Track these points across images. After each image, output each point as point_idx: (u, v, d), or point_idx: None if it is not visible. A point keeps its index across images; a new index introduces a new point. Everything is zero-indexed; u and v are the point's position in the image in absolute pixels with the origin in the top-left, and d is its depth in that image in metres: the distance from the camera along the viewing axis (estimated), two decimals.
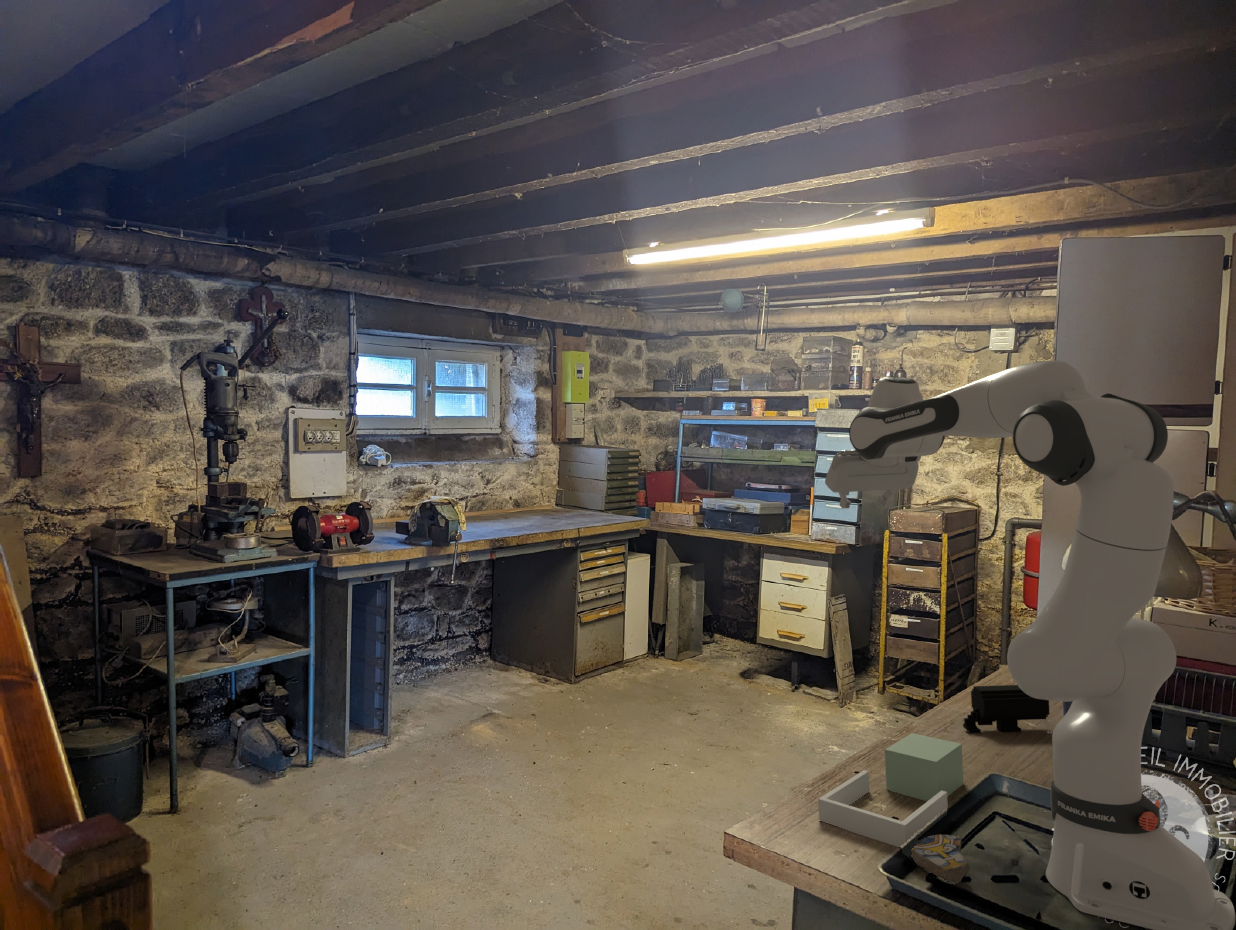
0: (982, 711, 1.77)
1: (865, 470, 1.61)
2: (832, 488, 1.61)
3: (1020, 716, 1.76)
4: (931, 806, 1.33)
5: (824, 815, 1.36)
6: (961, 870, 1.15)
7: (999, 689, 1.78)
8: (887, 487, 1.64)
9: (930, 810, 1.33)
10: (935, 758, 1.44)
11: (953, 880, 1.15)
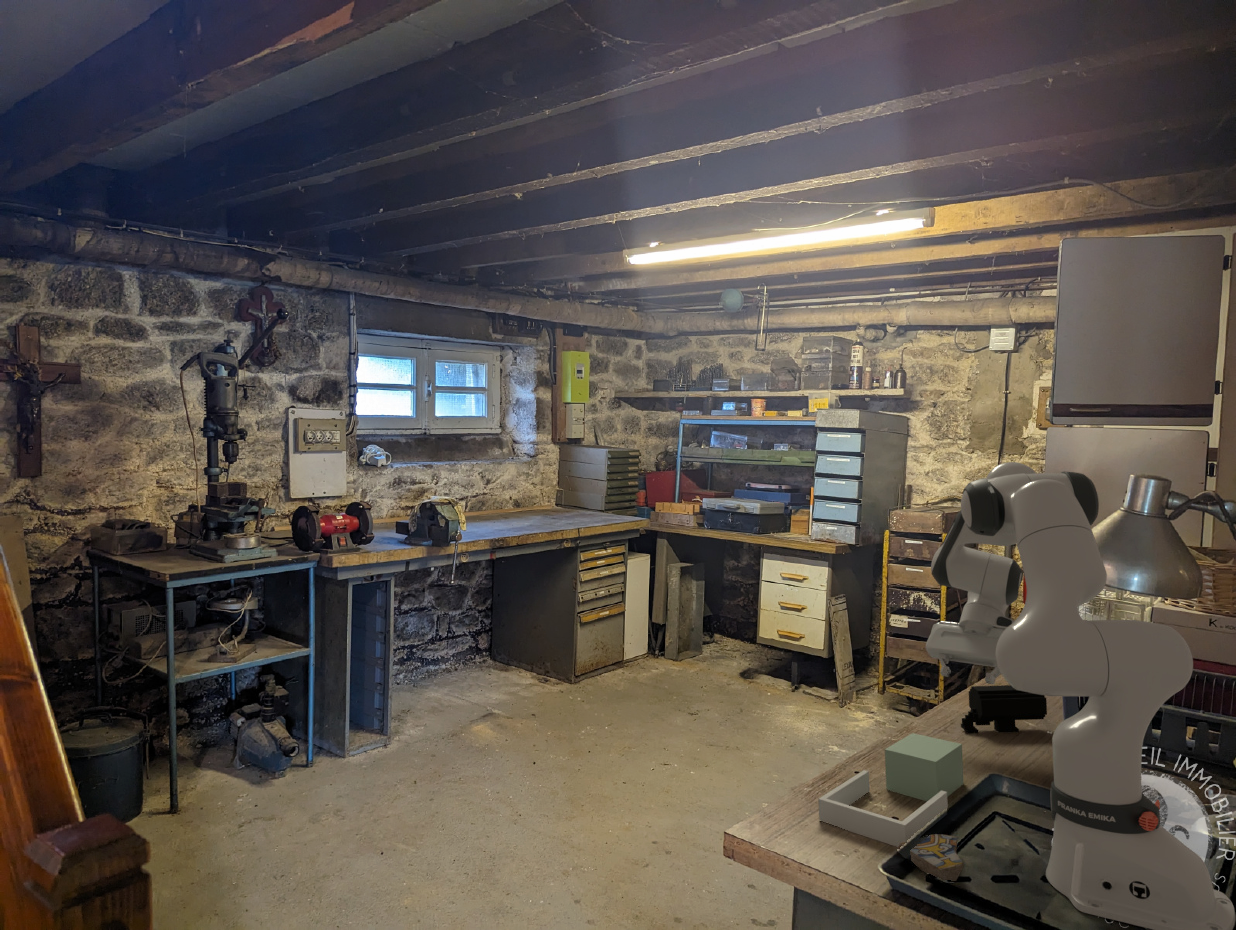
0: (979, 711, 1.77)
1: (961, 635, 1.73)
2: (925, 646, 1.76)
3: (1018, 716, 1.76)
4: (931, 806, 1.33)
5: (824, 815, 1.36)
6: (956, 870, 1.16)
7: (997, 689, 1.78)
8: (985, 655, 1.66)
9: (930, 810, 1.33)
10: (935, 758, 1.44)
11: None
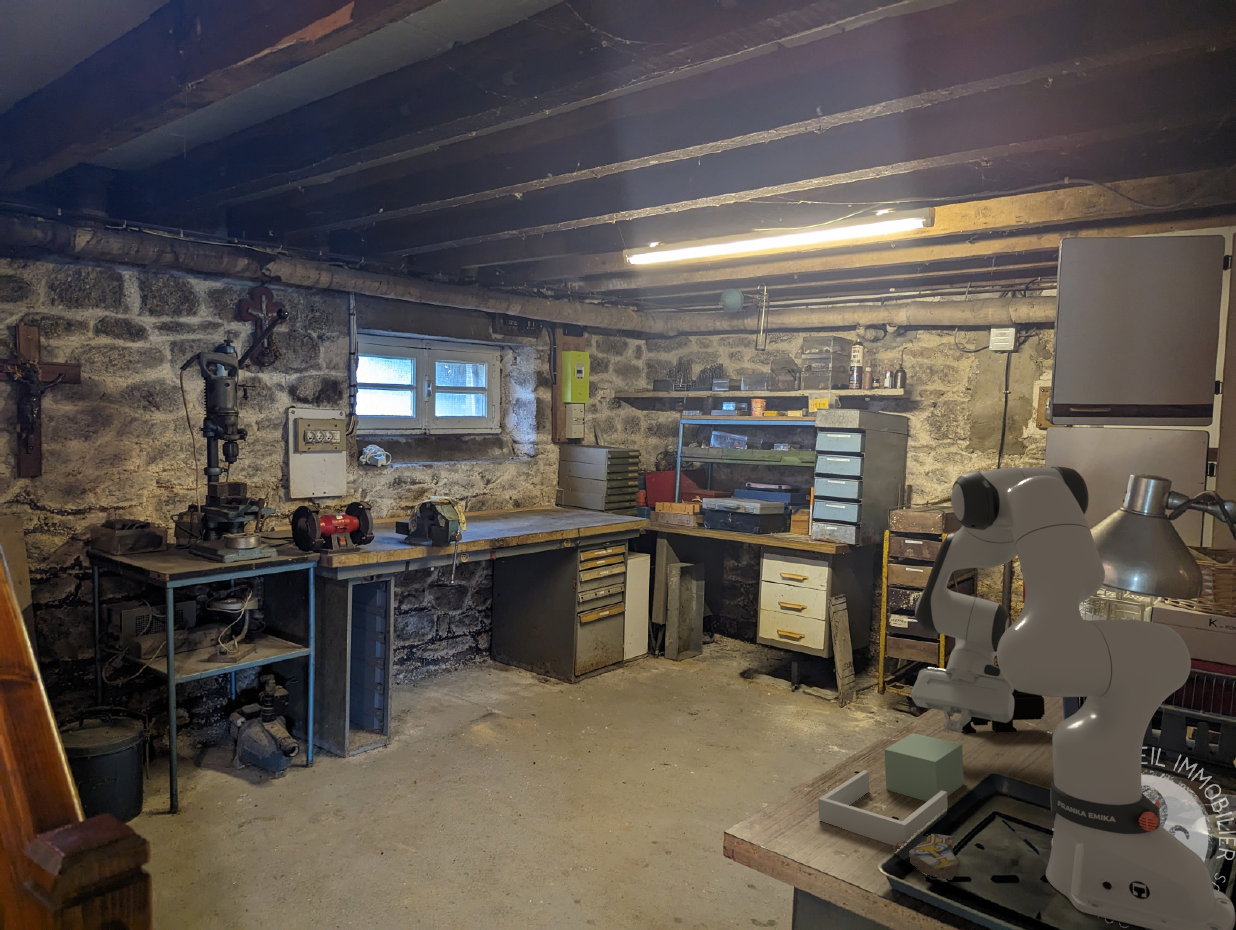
0: None
1: (947, 683, 1.66)
2: (911, 694, 1.69)
3: (1015, 716, 1.76)
4: (931, 806, 1.33)
5: (824, 815, 1.36)
6: (952, 869, 1.16)
7: None
8: (972, 705, 1.59)
9: (930, 810, 1.33)
10: (934, 758, 1.44)
11: None
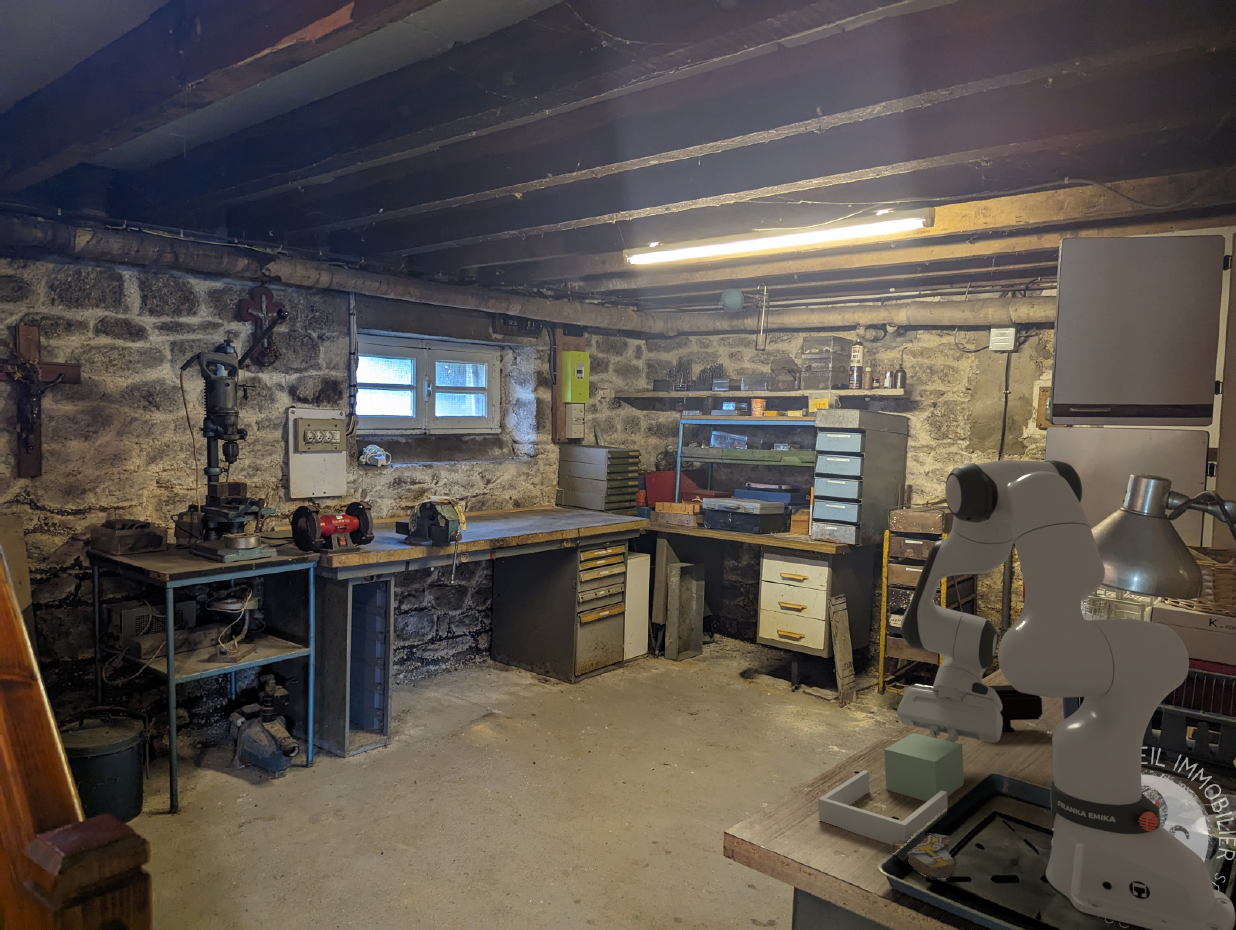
0: None
1: (934, 701, 1.61)
2: (897, 711, 1.64)
3: (1013, 716, 1.76)
4: (931, 806, 1.33)
5: (824, 815, 1.36)
6: (948, 868, 1.16)
7: None
8: (959, 725, 1.54)
9: (930, 810, 1.33)
10: (934, 758, 1.44)
11: None
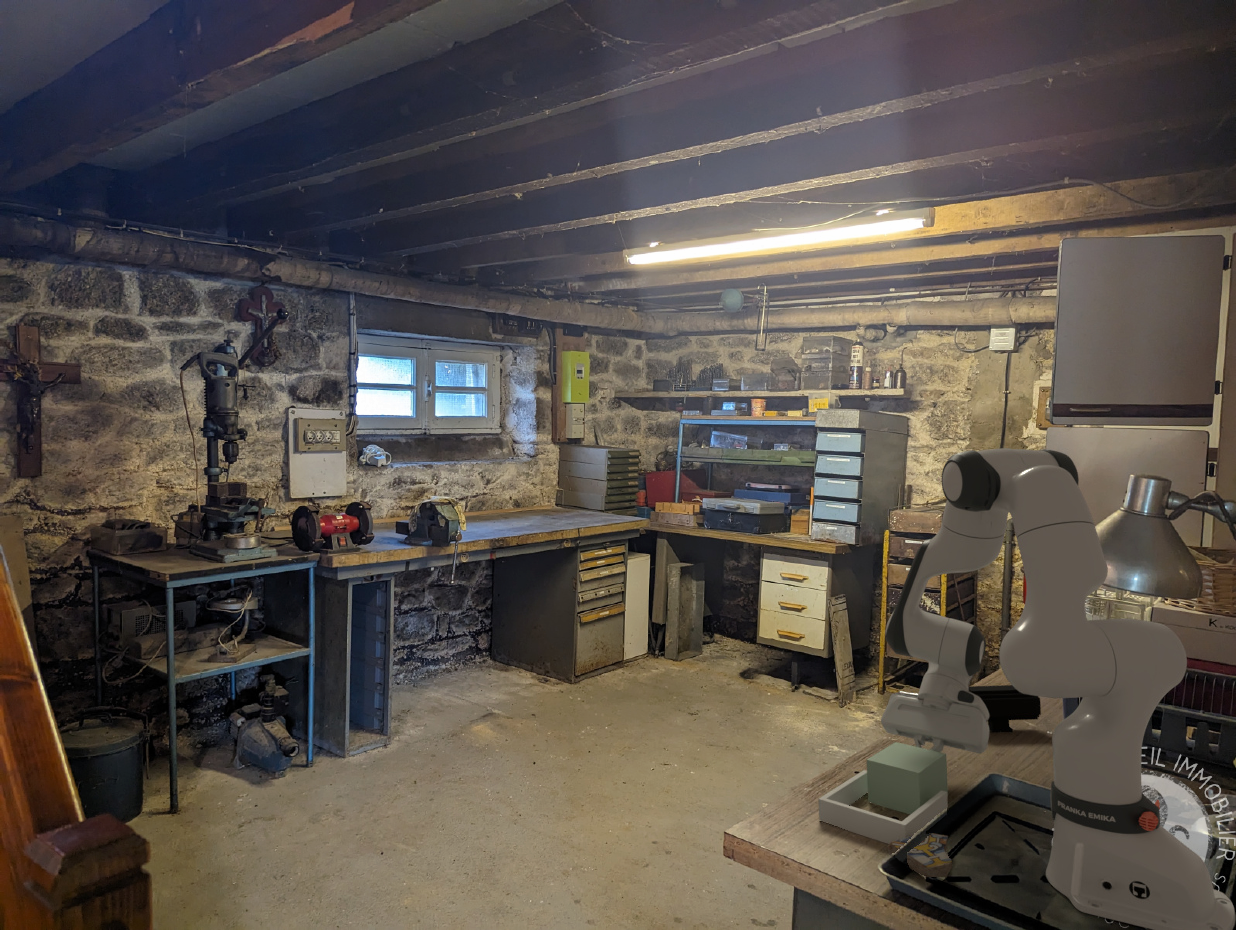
0: None
1: (919, 709, 1.56)
2: (881, 720, 1.59)
3: (1011, 716, 1.76)
4: (931, 806, 1.33)
5: (824, 815, 1.36)
6: (945, 868, 1.16)
7: (991, 689, 1.78)
8: (944, 734, 1.49)
9: (930, 810, 1.33)
10: (918, 769, 1.39)
11: None
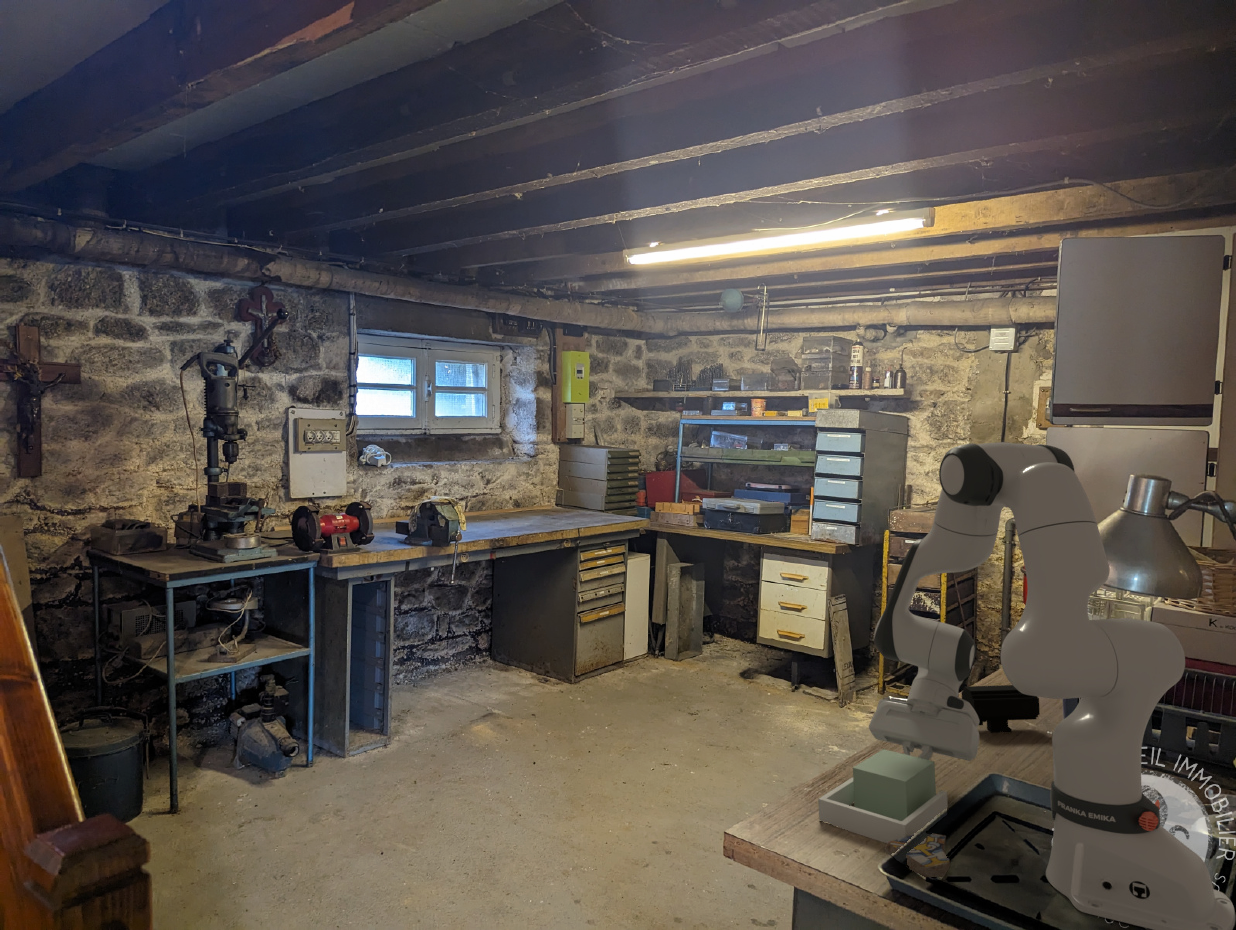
0: None
1: (908, 715, 1.52)
2: (869, 726, 1.55)
3: (1010, 716, 1.76)
4: (931, 806, 1.33)
5: (824, 815, 1.36)
6: (943, 868, 1.16)
7: (989, 689, 1.78)
8: (933, 741, 1.45)
9: (930, 810, 1.33)
10: (905, 777, 1.35)
11: None
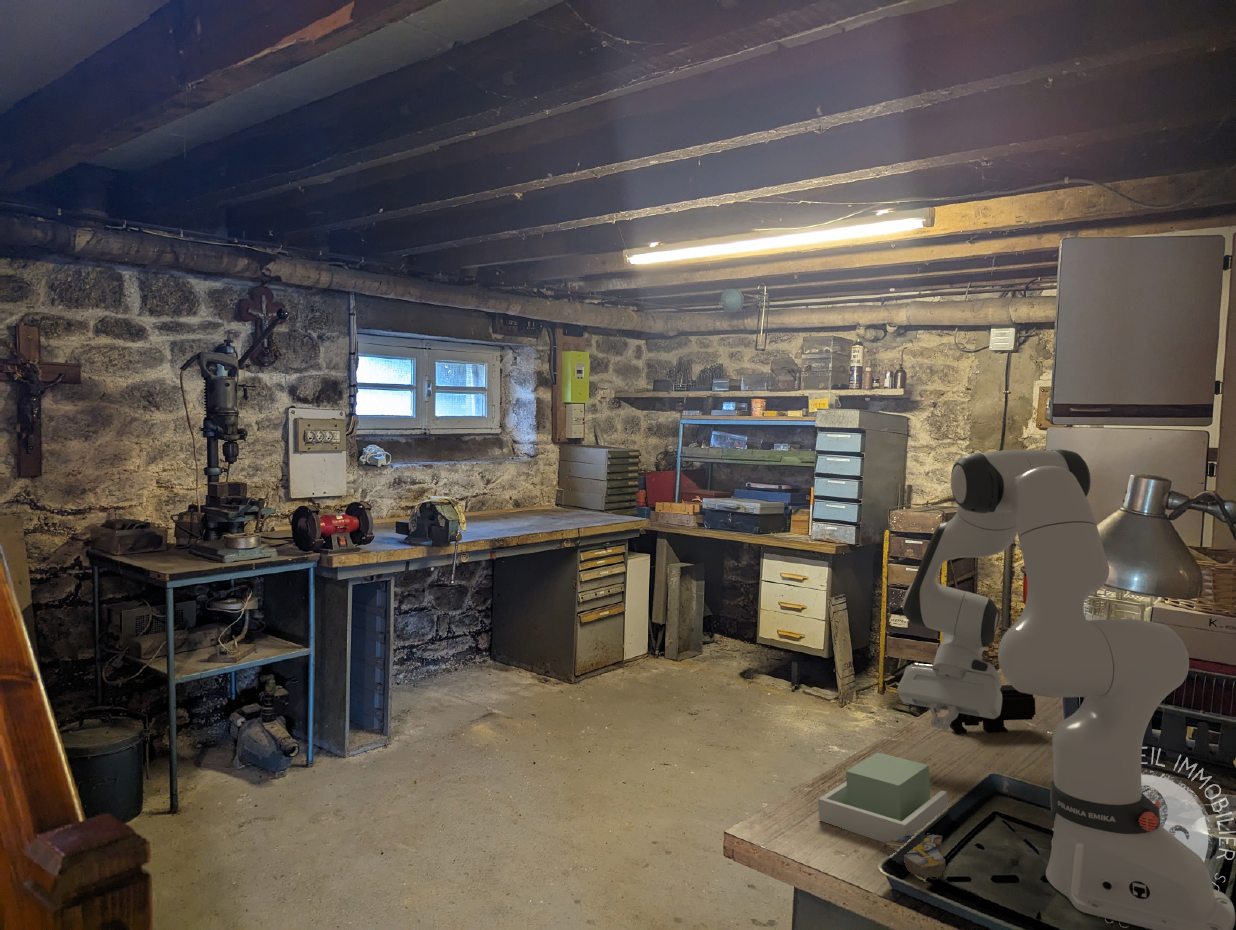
0: None
1: (934, 678, 1.62)
2: (897, 690, 1.64)
3: (1006, 716, 1.76)
4: (931, 806, 1.33)
5: (824, 815, 1.36)
6: (939, 868, 1.16)
7: None
8: (959, 701, 1.55)
9: (930, 810, 1.33)
10: (898, 781, 1.34)
11: None
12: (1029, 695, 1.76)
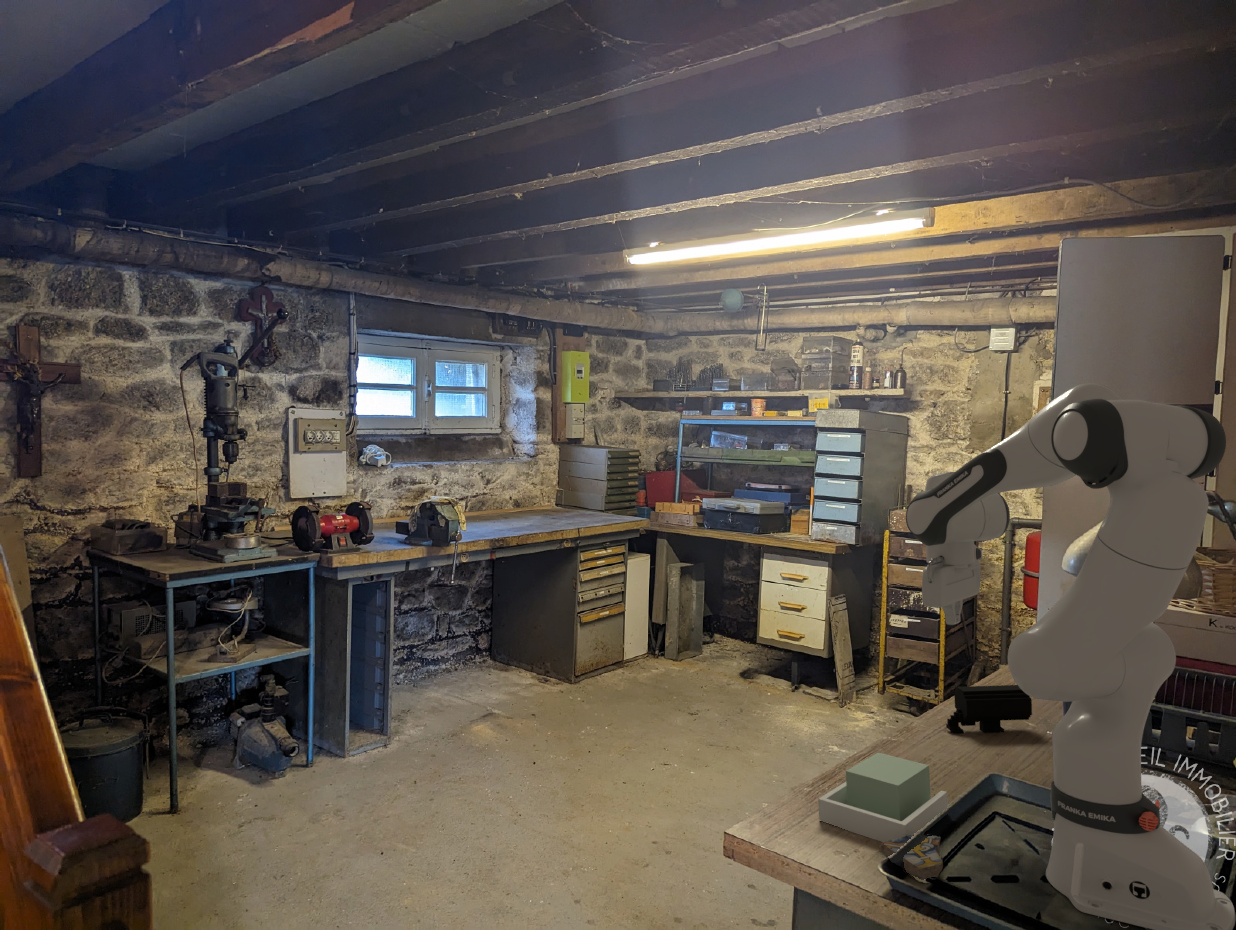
0: (965, 712, 1.77)
1: (952, 576, 1.49)
2: (938, 602, 1.44)
3: (1003, 716, 1.76)
4: (931, 806, 1.33)
5: (824, 815, 1.36)
6: (936, 869, 1.16)
7: (982, 689, 1.78)
8: (967, 594, 1.53)
9: (930, 810, 1.33)
10: (898, 781, 1.34)
11: None
12: (1025, 695, 1.76)
